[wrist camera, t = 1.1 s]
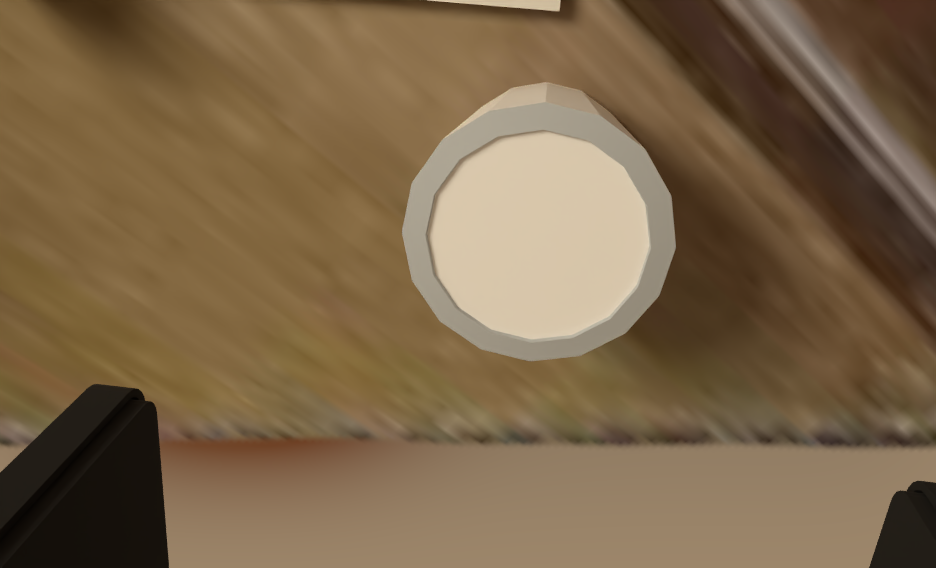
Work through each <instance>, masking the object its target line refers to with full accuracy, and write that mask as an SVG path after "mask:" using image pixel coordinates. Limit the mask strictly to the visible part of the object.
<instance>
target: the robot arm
mask: <svg viewBox="0 0 936 568" xmlns="http://www.w3.org/2000/svg"><path fill="white" fill-rule="evenodd" d="M0 568H169V560H168V548H167V536H166V523H165V510H164V497H163V484H162V472H161V459H160V446H159V433H158V420H157V411H156V407H155V405H154V403H152V402H150V401H145V398H144V395H143V393H142V391H140V390H139V389H135V388H126V387H118V386H109V385H101V384H94V385H92V386H90V387H89V388H87V389H86V390H85V391H84V392H83V393H82V394H81V395H80V396H79V397H78V398H77V399H76V400H75V401H74V402H73V403H72V404H71V405H70V406H69V407H68V408H67V409H66V410H65V411H64V412H63V413H62V414H61V415H59V416H58V417H57V418H56V419H55V420H54V421H53V422H52V423H51V424H50V425H49V426H48V427H47V428H46V429H45V430H44V431H43V432H42V433H41V434H40V435H39V436H38V437H37V438H36V439H35V440H34V441H33V442H32V443H30V444H29V445H28V446H27V447H26V448H25V449H24V450H23V451H22V452H21V453H20V454H19V455H18V456H17V457H16V458H15V459H14V460H13V461H12V462H11V463H10V464H9V465H8V466H7V467H6V468H5V469H4V470H3V471H1V472H0ZM869 568H936V483H933V482H925V481H916V482H913V483H912V484H911V485H910V487H908V490H907V491H898V492H896V493H895V494H894V496H893V498H892V500H891V503H890V506H889V509H888V512H887V515H886V518H885V521H884V524H883V527H882V530H881V533H880V536H879V539H878V542H877V545H876V549H875V552H874V555H873V558H872V561H871V564H870V567H869Z"/></svg>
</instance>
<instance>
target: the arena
mask: <svg viewBox="0 0 936 568" xmlns="http://www.w3.org/2000/svg"><path fill="white" fill-rule="evenodd" d="M429 1H441V2H453V3H465V4H478V5H490V6H502V7H514V8H526V9H538V10H550V11H559V10H560V1H561V0H429Z"/></svg>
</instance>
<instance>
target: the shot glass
mask: <svg viewBox="0 0 936 568" xmlns="http://www.w3.org/2000/svg"><path fill="white" fill-rule="evenodd" d="M402 235H403V240H404V244H405V249H406V254H407V259H408V264H409V268H410V273H411V278H412V281H413V283H414V284H415V286H416V287H417V288H418V290H419V291H420V293H421V294H422V296H423V297H424V299H425V300H426V302H427V303H428V305H429V306H430V307H431V309H432V310H433V312H434V313H435V315H436V316H437V318H438V319H439V321H440V322H442V323H443V324H445V325H446V326H448V327H449V328H451V329H452V330H454V331H455V332H457V333H458V334H459V335H461V336H462V337H464V338H465V339H467V340H468V341H470V342H471V343H473V344H474V345H476V346H477V347H479V348H480V349H482V350H486V351H490V352H494V353H498V354H502V355H506V356H510V357H514V358H519V359H523V360H527V361H537V360H547V359H556V358H565V357H575V356H581V355H583V354H585V353H587V352H589V351H591V350H593V349H595V348H597V347H599V346H601V345H603V344H605V343H607V342H609V341H611V340H613V339H615V338H617V337H619V336H621V335H623V334H625V333H626V332H627V331H628V330H629V329H630V328H631V327H632V325H633V324H634V323H635V322H636V321H637V320H638V319H639V318H640V317H641V315H642V314H643V313H644V312H645V311H646V310H647V309H648V308H649V307H650V305H651V304H652V303H653V302H654V301H655V300H656V299H657V298H658V297H659V295H660V292H661V289H662V287H663V284H664V281H665V278H666V275H667V272H668V269H669V266H670V263H671V260H672V258H673V255H674V252H675V249H676V242H675V231H674V219H673V208H672V197H671V194H670V192H669V191H668V189H667V187H666V185H665V184H664V182H663V180H662V178H661V176H660V175H659V173H658V171H657V169H656V168H655V166H654V164H653V162H652V160H651V159H650V157H649V155H648V153H647V152H646V150H645V148H644V147H643V146H642V145H641V144H640V143H639V142H638V141H637V140H636V139H635V138H634V137H633V136H632V135H631V134H630V133H629V132H628V131H627V130H626V129H625V127H624V126H623V125H622V124H621V123H620V122H619V121H618V120H617V119H616V118H615V117H614V116H613V115H612V114H611V113H610V112H609V111H608V110H607V109H605V108H604V107H603V106H601V105H600V104H599V103H597V102H596V101H595V100H593V99H592V98H591V97H589V96H588V95H587V94H585V93H584V92H583V91H581V90H577V89H573V88H569V87H565V86H561V85H557V84H553V83H549V82H545V83H539V84H533V85H526V86H520V87H514V88H511V89H510V90H508V91H506V92H505V93H503V94H502V95H500V96H498V97H497V98H495V99H493V100H492V101H490V102H489V103H487V104H485V105H484V106H482V107H481V108H480V109H479V110H478V111H476V112H475V113H474V114H473V115H471V116H470V117H469V118H468V119H467V120H465V121H464V122H463V123H462V124H461V125H459V126H458V127H457V128H456V129H455V130H453V131H452V132H451V133H450V134H449V135H447V136H446V137H445V138H444V139H443V140H442V141H441V142H440V144H439V145H438V147H437V148H436V149H435V151H434V152H433V154H432V155H431V156H430V158H429V159H428V161H427V162H426V164H425V165H424V166H423V168H422V169H421V171H420V172H419V173H418V175H417V176H416V178H415V179H414V181H413V182H412V185H411V190H410V195H409V200H408V205H407V210H406V215H405V219H404V224H403V229H402Z"/></svg>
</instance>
